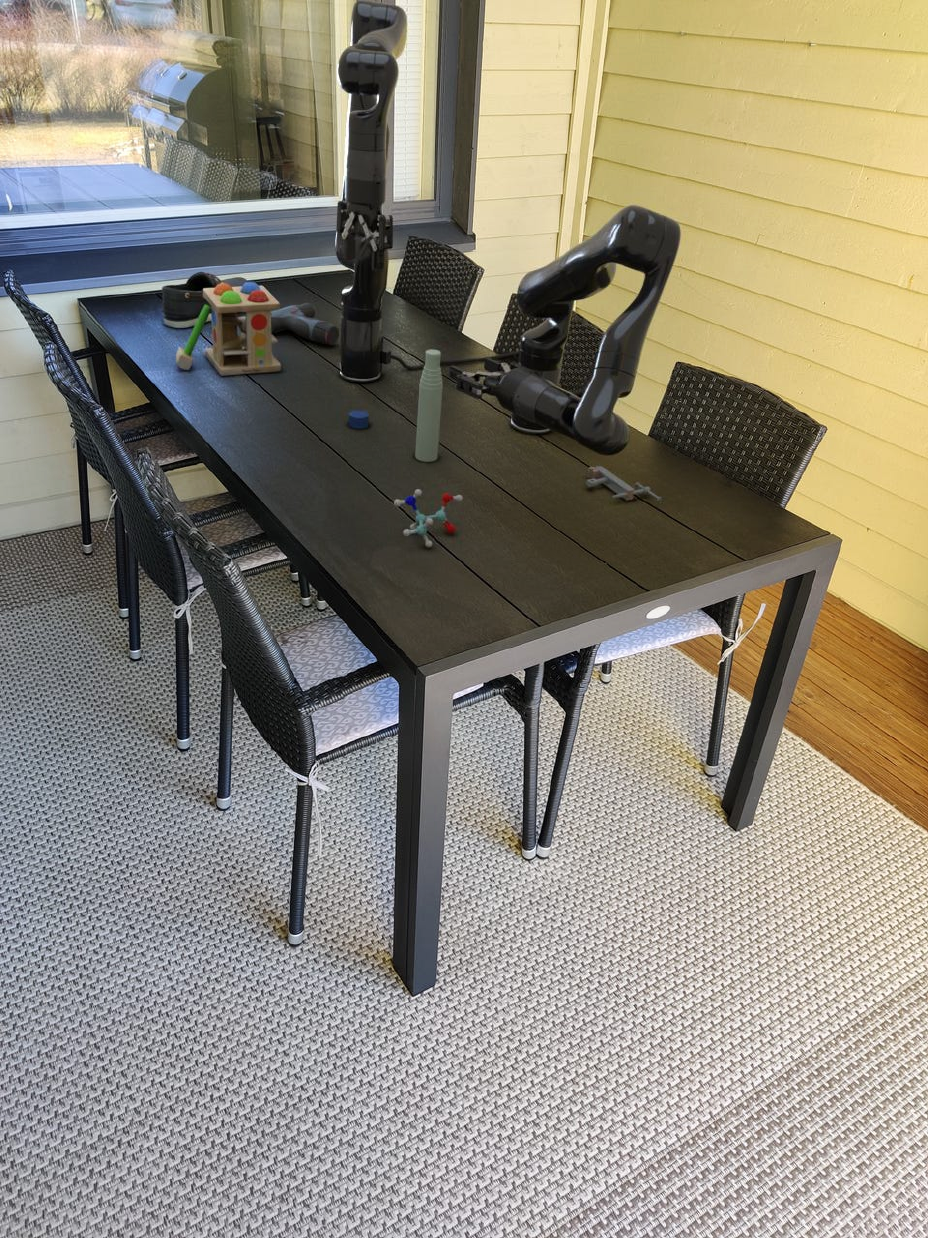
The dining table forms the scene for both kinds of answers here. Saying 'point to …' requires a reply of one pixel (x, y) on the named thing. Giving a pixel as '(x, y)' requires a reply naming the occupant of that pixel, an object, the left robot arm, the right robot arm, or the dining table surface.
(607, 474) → the clamp
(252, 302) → the pounding bench toy
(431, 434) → the bottle
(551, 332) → the right robot arm
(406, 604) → the dining table surface
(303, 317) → the power drill
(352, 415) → the cap
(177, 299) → the boat shoe
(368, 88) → the left robot arm
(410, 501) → the molecular model
